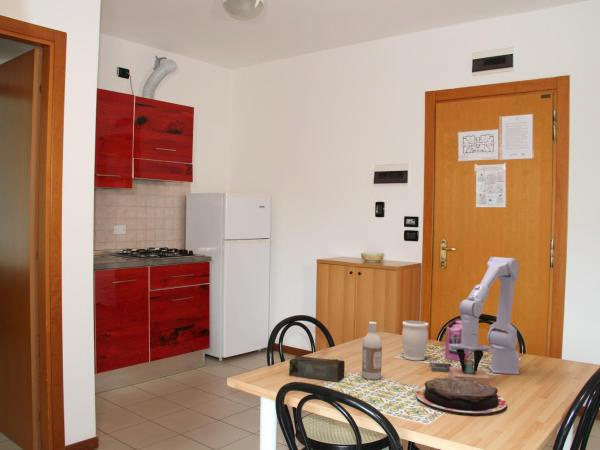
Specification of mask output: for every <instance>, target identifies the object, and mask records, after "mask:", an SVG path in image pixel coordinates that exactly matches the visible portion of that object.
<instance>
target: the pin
mask: <svg viewBox="0 0 600 450" xmlns="http://www.w3.org/2000/svg"><path fill="white" fill-rule="evenodd" d="M464 363H465V373H464V374H473V368H474V360H472V359H465V362H464Z"/></svg>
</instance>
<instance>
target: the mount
mask: <svg viewBox="0 0 600 450" xmlns="http://www.w3.org/2000/svg"><path fill="white" fill-rule="evenodd" d="M449 367H453V365H451V363H445V362H443V363H442V362H429V368H430V371H431V372H440V373H449Z"/></svg>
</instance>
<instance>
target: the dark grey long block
mask: <svg viewBox="0 0 600 450" xmlns="http://www.w3.org/2000/svg"><path fill="white" fill-rule="evenodd" d="M288 362H289V368H288V371H289V372H288V376H290V377H298V378H303V379H304V378H305V379H313V380H318V381H319V380H321V381H327V380H328V381H329V382H334V383H335V382H336V383H339V381H341V380H342V379H343V378H344V377H345V370H346V369H345V363H346V362H345V360H340V359H334V358H333V359H332V358H331V359H330V358H322V357H321V358H320V357H310V356H303V355H301V356H300V355H296V356H293V357H292V358H290V360H289V361H288Z"/></svg>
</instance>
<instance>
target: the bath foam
mask: <svg viewBox="0 0 600 450" xmlns="http://www.w3.org/2000/svg"><path fill="white" fill-rule="evenodd" d="M377 327H378V323H377V321H369V322H368V333H367V334H366V335H365V336H364V338H363V341H362V350H361V351H362V362H361V377H362V378H363V379H365V378H366V380H369V379H372V380H371V381H376V379H377V380H380V379H381V378H382V363H383V362H382V357H383V355H382V354H383V344H382V340H381V338H380V336H379V334H378V332H377V331H378V330H377V329H378V328H377Z"/></svg>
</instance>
